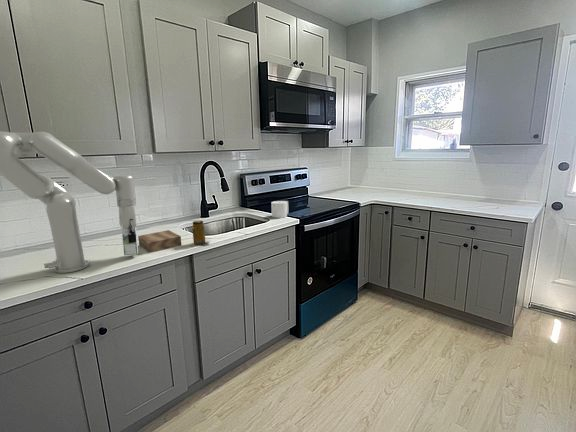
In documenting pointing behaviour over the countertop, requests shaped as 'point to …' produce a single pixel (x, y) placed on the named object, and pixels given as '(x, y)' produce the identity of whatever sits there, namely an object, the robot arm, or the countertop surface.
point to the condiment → (199, 234)
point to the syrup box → (128, 247)
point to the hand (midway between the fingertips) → (130, 240)
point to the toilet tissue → (279, 209)
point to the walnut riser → (159, 241)
